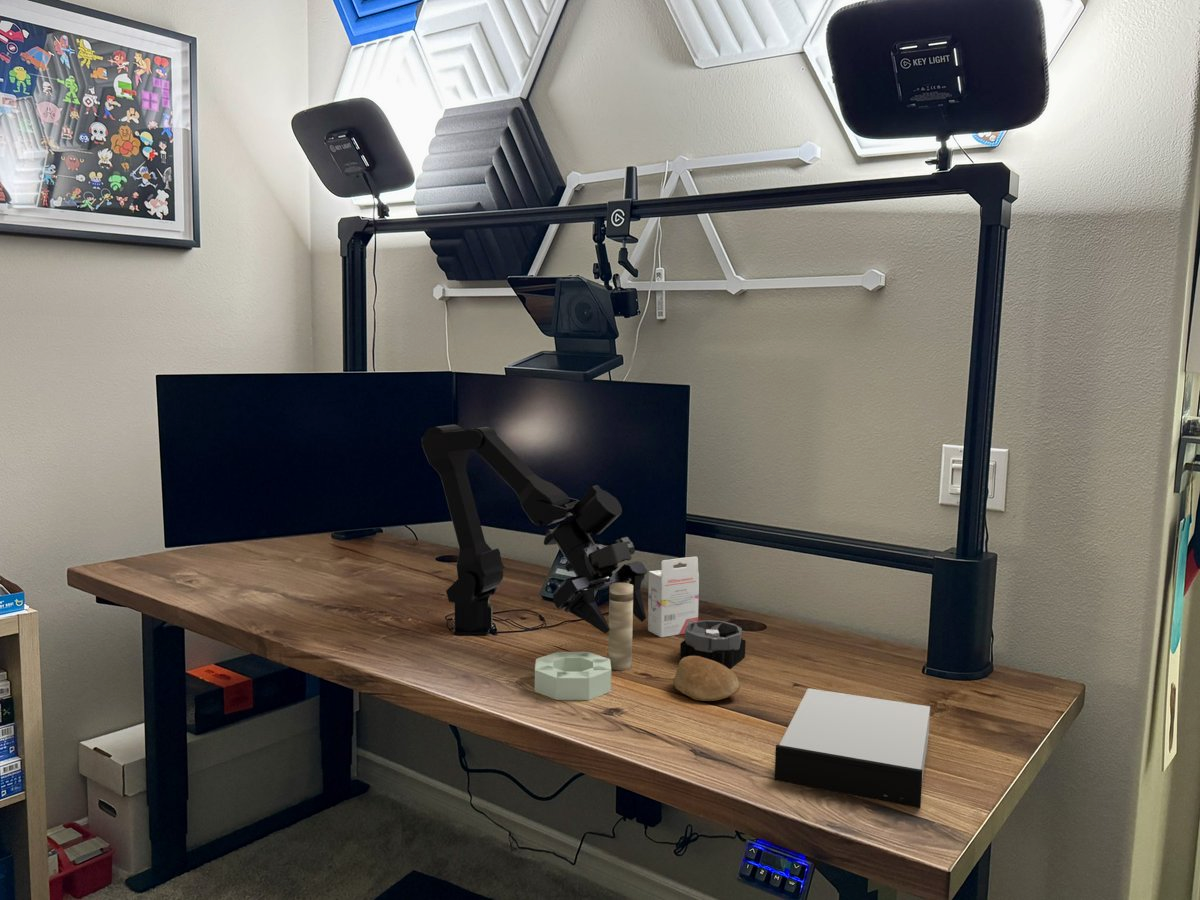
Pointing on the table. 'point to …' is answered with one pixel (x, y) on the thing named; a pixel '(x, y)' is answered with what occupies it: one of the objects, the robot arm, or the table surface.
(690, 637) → the cpu cooler
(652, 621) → the ink cartridge box
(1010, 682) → the table surface
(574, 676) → the sage ashtray
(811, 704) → the disc drive
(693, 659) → the stone
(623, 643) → the maple peg
